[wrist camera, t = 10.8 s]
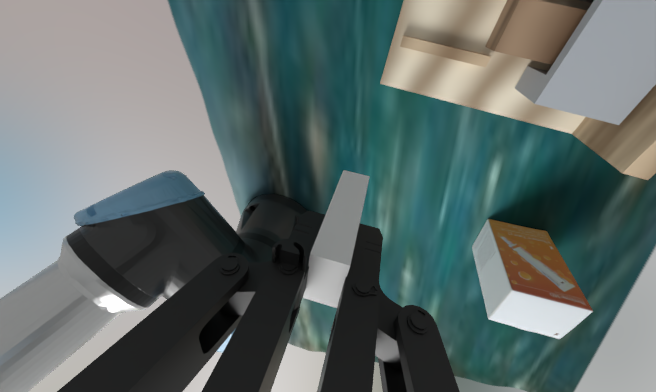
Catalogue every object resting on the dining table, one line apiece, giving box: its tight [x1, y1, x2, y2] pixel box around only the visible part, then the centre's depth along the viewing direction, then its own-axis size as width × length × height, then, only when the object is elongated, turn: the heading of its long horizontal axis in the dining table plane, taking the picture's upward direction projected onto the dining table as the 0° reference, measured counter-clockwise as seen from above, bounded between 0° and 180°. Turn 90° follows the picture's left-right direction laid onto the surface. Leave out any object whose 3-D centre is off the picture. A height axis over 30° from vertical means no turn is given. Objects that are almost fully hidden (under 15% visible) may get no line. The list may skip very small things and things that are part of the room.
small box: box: [472, 219, 593, 339], centre depth 35 cm, size 8×6×13 cm
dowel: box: [485, 0, 588, 65], centre depth 24 cm, size 10×4×4 cm, turn 80°
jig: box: [380, 0, 656, 180], centre depth 22 cm, size 24×16×10 cm, turn 80°
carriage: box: [515, 0, 656, 125], centre depth 22 cm, size 7×10×6 cm
